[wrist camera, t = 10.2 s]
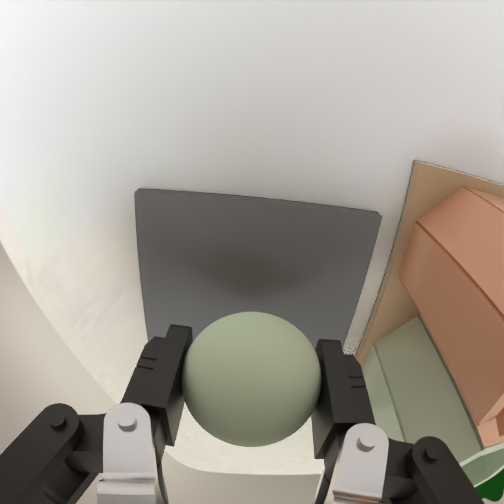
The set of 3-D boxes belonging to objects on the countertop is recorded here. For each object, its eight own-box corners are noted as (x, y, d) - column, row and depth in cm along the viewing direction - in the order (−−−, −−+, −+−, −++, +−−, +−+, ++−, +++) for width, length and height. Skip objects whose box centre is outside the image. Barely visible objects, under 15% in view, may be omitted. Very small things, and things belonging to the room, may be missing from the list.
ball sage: (325, 290, 11) (349, 394, 7) (302, 377, 13) (309, 470, 9) (194, 278, 11) (157, 378, 7) (196, 368, 13) (175, 459, 9)
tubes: (527, 193, 13) (644, 278, 4) (436, 391, 20) (473, 493, 12) (414, 160, 13) (569, 263, 4) (337, 397, 20) (356, 523, 12)
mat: (377, 212, 14) (381, 216, 14) (317, 403, 21) (318, 409, 20) (139, 188, 14) (134, 192, 14) (159, 388, 20) (157, 395, 20)
